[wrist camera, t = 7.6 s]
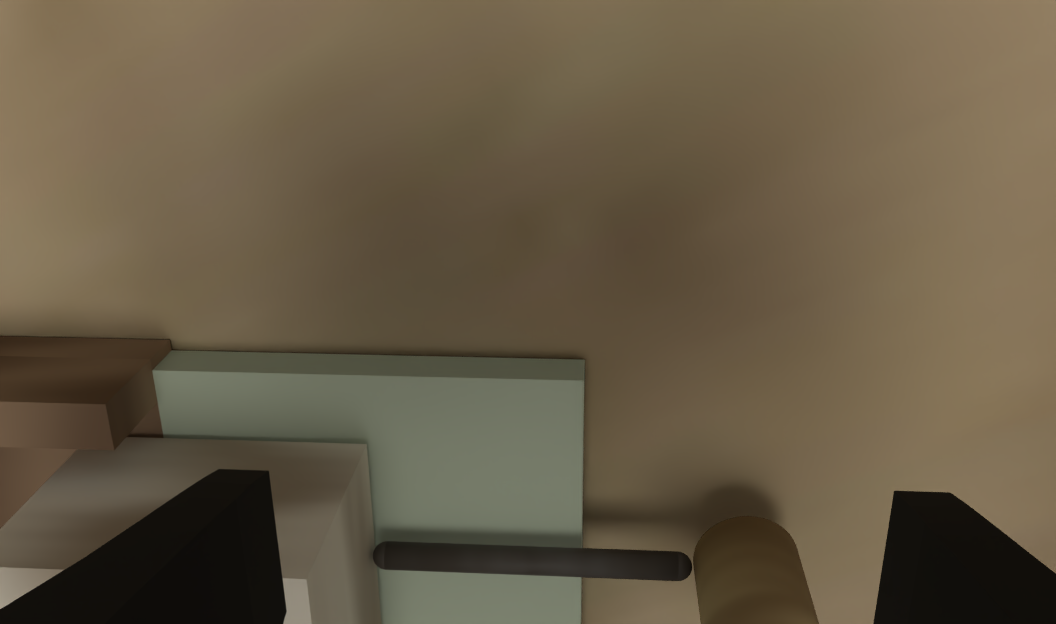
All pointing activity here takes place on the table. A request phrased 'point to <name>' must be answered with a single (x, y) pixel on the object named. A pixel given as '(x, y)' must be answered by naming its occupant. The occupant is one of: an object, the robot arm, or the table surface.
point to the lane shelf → (70, 404)
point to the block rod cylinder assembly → (365, 534)
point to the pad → (419, 457)
